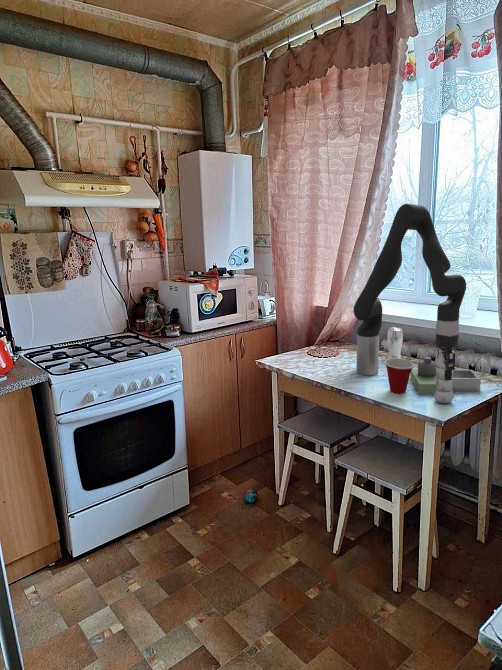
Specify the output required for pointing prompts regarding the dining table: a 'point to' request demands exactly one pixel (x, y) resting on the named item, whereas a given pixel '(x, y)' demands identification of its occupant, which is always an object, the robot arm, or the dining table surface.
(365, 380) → the dining table surface
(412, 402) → the dining table surface
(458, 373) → the grey open box
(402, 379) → the plastic cup
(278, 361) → the dining table surface
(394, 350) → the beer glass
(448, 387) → the plastic bottle
